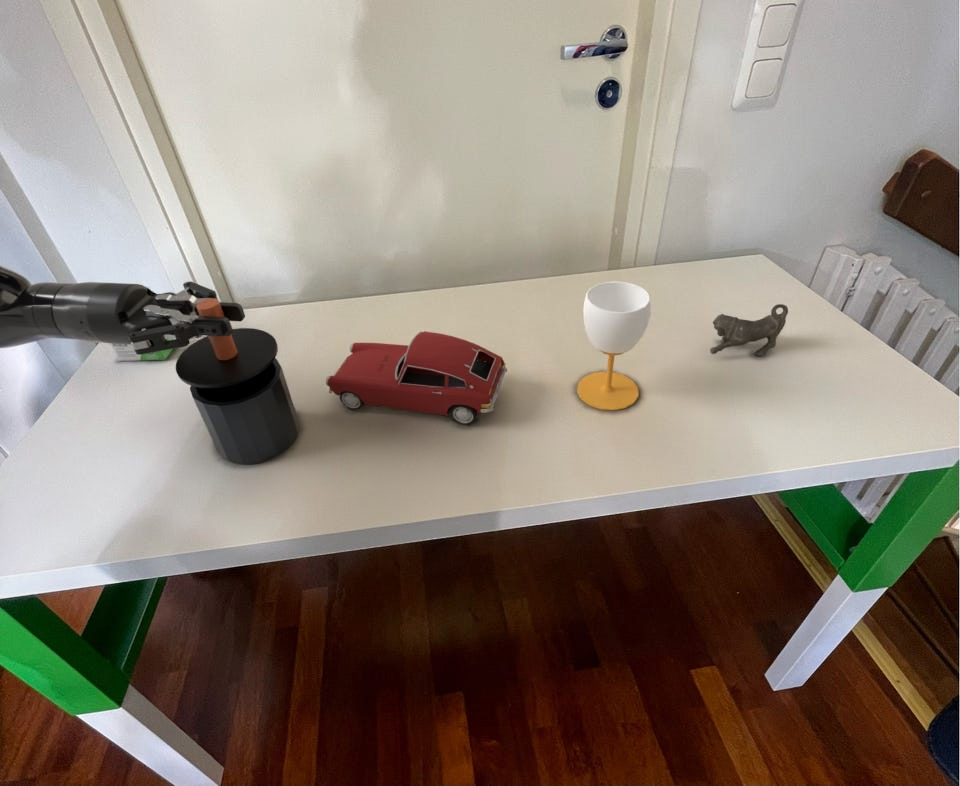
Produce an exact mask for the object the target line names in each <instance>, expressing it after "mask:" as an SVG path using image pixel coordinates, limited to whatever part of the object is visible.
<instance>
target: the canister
mask: <svg viewBox="0 0 960 786" xmlns="http://www.w3.org/2000/svg"><path fill="white" fill-rule="evenodd" d="M282 367H283V366H282V365H281V364H280V362H279V361H278V359H277V357H275V359H274V360H273V362H272V363H271V364H270V365H269V366H268V367H267V368H266V369H265V370H263V371H262V372H261V373H259V374H257V375H256V376H254V377H252V378H250V379H248V380H245V381H243V382H240V383H237V384H234V385H230V386H225V387H218V388H200V387H194V386H191V385H189V386H190V387H189V391H190V393H191V397H192V399H193V401H194V403H195V406H196V408H197V410H198V412H199V415H200V417H201V419H202V421H203V423H204V425H205V427H206V429H207V432H208V434H209V436H210V439H211V441H212V443H213V445H214V447H215V449H216V452H217V454H218V455H219V456H220V458H222V459H223V460H224V461H226V462H228V463H230V464H234V465H239V466H240V465H242V466H243V465H244V466H248V465H249V466H250V465H255V464H261V463H264V462H267V461H270V460H273V459H275V458H276V457H279V456H280V455H282V454H283V453H285V452H286V451H287V450H288V449H290V448H291V446H293V444H294V443H295V442H296V440H297V438H298V436H299V434H300V421H299V417H298V414H297V411H296V408H295V405H294V401H293V399H292V396H291V393H290V390H289V386H288V383H287V380H286V377H285V373H284V370H283V368H282Z"/></svg>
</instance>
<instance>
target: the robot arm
mask: <svg viewBox="0 0 960 786" xmlns="http://www.w3.org/2000/svg"><path fill="white" fill-rule="evenodd" d="M182 286H183V288H184V289H183V290H181V291H179V292H177V293H175V292H171V291H169V292H168V291H167V292H162V293H157V292H155V291H153V290H152V289H151V288H150V289H148V288H147V287H148V286H145V285H143V284H140V283H124V282H123V283H122V282H121V283H120V282H101V281H100V282H99V281H97V282H96V281H86V282H85V281H83V282H52V281H51V282H47V281H46V282H37V283H34V284H32V282H31V281H30V280H29V279H28V278H27V277H25V275H23V274H21V273H19V272H17V271H15V270H13V269H10V268H8V267H5V266H3V265H0V349H8V348H14V347H20V346H23V345H27V344H31V343H35V342H40V341H45V340H48V339H61V340H62V339H63V340H64V339H65V340H78V341H82V342H87V343H98V344H99V343H100V344H109V343H113V344H131V345H132V346H133V348H134V350H135V352H136V354H137V355H141V354H147V353H152V352H157V351H163V350H168V349H173V348H174V349H178V348H183V347H188V346H190V345H191V342H190V340H191V339H199V338H202V337H203V336H204V337H206V336H229V335H230V334H231V333H232V332H233V329H234V328H233V326H232V323H231V322H243V320H244V319H245V318H246V314H245V310H244V309H243V306H242V304H240V303H238V302H225V301H219V303H220V305H221V308H222V311H223V314H224V316H225V317H208V316H200V315H199V313H198V310H197V308H196V305H197V304H198V303H199V302H200V301H202V300H205V299H209V298H215V299H217V300H219V298H218V295H217V292H216V291H215V290H213V289H212V288H209V287H206V286H203V285H201V284H198V283H196V282H194V281H185V282H183V284H182ZM165 337H169V338H173V339H174V340H169V341H168V340H166V339H165ZM174 349H173V350H174Z"/></svg>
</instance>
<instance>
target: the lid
mask: <svg viewBox="0 0 960 786" xmlns="http://www.w3.org/2000/svg"><path fill="white" fill-rule="evenodd" d="M219 302H220V300H219V299H218V300H217V299H215V298H209V299H205V300H202V301H200V302H199V303H198V304H197V305H196V308H197V310H198V313H199V315H200V316H208V317H225V316H224V314H223V311H222V308H221V305H220V303H219ZM232 329H233V332H232V333H231V334H230V335H229V336H204V337H201V338H200V339H197V340H196V341H195V342H193V343H192V344H189V345H188V346H187V347H186V348H185V349H184V351H182V353H180V355H179V356H178V358H177V360H176V362H175V373H176V375H177V376H178V378H179V379H180V380H181V381H182V382H183V383H185V384H187V385H188V386H194V387H200V388H218V387H225V386H230V385H234V384H237V383H240V382H243V381H245V380H248V379H250V378H252V377H254V376H256V375H257V374H259V373H261V372H262V371H263V370H265V369H266V368H267V367H268V366H269V365H270V364H271V363H272V362H273V360H274V359H275V358H277V355H278V351H279V347H278V346H279V345H278V341H277V340H276V339H275V337H274V335H272V334H271V333H269V332H267V331H265V330H262V329H258V328H252V327H250V328H249V327H237V328H232Z"/></svg>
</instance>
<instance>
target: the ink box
mask: <svg viewBox="0 0 960 786" xmlns="http://www.w3.org/2000/svg"><path fill="white" fill-rule="evenodd" d="M146 287H147V288H148V289H150V290H151V287H150V286H146ZM165 339H166V340H168V341H169V340H175V338H169V337H165ZM108 344H109V346H110V348H111V350H112V352H113V354H114V355H115V357H116V359H117V361H118V362H123V361H124V362H125V361H127V362H128V361H131V362H133V361H164V360H165V361H166V359H167V358H168V357H169V356H170V354H171V353H172V352H173V350H174V349H175V348H173V349H168V350H163V351H157V352H152V353H147V354H141V355H137V354H136V352H135V350H134V348H133V346H132V345H131V344H113V343H108Z"/></svg>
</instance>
